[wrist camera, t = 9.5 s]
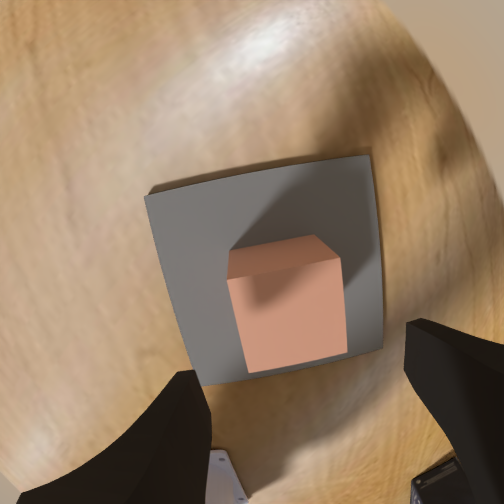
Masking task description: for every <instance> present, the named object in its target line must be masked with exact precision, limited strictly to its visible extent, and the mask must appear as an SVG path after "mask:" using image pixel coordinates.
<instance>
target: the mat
mask: <svg viewBox="0 0 504 504" xmlns="http://www.w3.org/2000/svg"><path fill="white" fill-rule="evenodd" d="M144 200H145V204H146V209H147V213H148V217H149V221H150V226H151V230H152V234H153V238H154V242H155V245H156V249H157V253H158V257H159V261H160V264H161V268H162V272H163V275H164V279H165V282H166V286H167V289H168V293H169V296H170V300H171V303H172V306H173V309H174V313H175V316H176V319H177V322H178V326H179V329H180V332H181V335H182V338H183V341H184V344H185V347H186V350H187V353H188V356H189V359H190V362H191V365H192V367H193V370H194V369H195V371H196V374H197V377H198V379H199V382H200V385H201V386H209V385H216V384H223V383H230V382H236V381H242V380H248V379H254V378H260V377H265V376H271V375H276V374H281V373H286V372H291V371H296V370H300V369H305V368H309V367H314V366H318V365H322V364H326V363H330V362H334V361H338V360H342V359H346V358H350V357H354V356H357V355H361V354H365V353H368V352H372V351H375V350H378V349H382V348H383V293H382V270H381V254H380V241H379V229H378V219H377V210H376V201H375V193H374V185H373V178H372V171H371V164H370V158H369V155H360V156H352V157H344V158H337V159H329V160H322V161H316V162H309V163H303V164H296V165H290V166H284V167H279V168H273V169H267V170H262V171H256V172H251V173H246V174H240V175H235V176H230V177H225V178H221V179H216V180H211V181H206V182H202V183H197V184H193V185H188V186H184V187H180V188H175V189H171V190H167V191H163V192H159V193H155V194H150V195H147V196H144ZM313 234H314V235H315V236H317V237H318V238H319V239H320V240H321V241H322V242H323V243H324V244H326V245H327V246H328V247H329V248H330V249H331V250H332V251H333V252H335V253H336V254H337V255H338V256H339V257H340V260H341V269H342V280H343V291H344V304H345V317H346V333H347V352H346V353H342V354H338V355H334V356H330V357H326V358H322V359H318V360H313V361H309V362H304V363H300V364H295V365H290V366H285V367H280V368H275V369H270V370H264V371H258V372H253V373H249V372H248V368H247V364H246V360H245V356H244V352H243V348H242V344H241V339H240V335H239V331H238V327H237V323H236V318H235V314H234V310H233V305H232V301H231V297H230V292H229V288H228V284H227V271H228V259H229V250H234V249H240V248H245V247H250V246H255V245H260V244H266V243H271V242H276V241H281V240H287V239H292V238H297V237H302V236H308V235H313Z"/></svg>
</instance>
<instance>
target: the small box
mask: <svg viewBox="0 0 504 504" xmlns="http://www.w3.org/2000/svg"><path fill="white" fill-rule="evenodd" d="M410 504H476V502H475V499H474V496H473V493H472V490H471V487H470V485H469V482H468V479H467V477H466V474H465V472H464V470H463V468H462V465H461V464H460V462H459V460H458V459H457V457H454V458H453V459H451V460H449V461H448V462H446V463H444V464H442V465H440V466H439V467H437V468H435V469H433V470H431V471H429V472H427V473H425V474H423V475H421V476H419V477H417V478H415V479H413V480H412V481H411V497H410Z"/></svg>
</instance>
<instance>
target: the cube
mask: <svg viewBox="0 0 504 504" xmlns="http://www.w3.org/2000/svg"><path fill="white" fill-rule="evenodd" d="M227 284H228V288H229V292H230V297H231V301H232V305H233V310H234V314H235V318H236V323H237V327H238V331H239V335H240V339H241V344H242V348H243V352H244V356H245V360H246V364H247V368H248V372H249V373H253V372H258V371H264V370H270V369H275V368H280V367H285V366H290V365H295V364H300V363H304V362H309V361H313V360H318V359H322V358H326V357H330V356H334V355H338V354H342V353H346V352H347V333H346V317H345V304H344V291H343V280H342V269H341V260H340V257H339V256H338V255H337V254H336V253H335V252H333V251H332V250H331V249H330V248H329V247H328V246H327V245H326V244H324V243H323V242H322V241H321V240H320V239H319V238H318V237H317V236H315V235H314V234H313V235H308V236H302V237H297V238H292V239H287V240H281V241H276V242H271V243H266V244H260V245H255V246H250V247H245V248H240V249H234V250H229V259H228V271H227Z"/></svg>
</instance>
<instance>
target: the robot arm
mask: <svg viewBox="0 0 504 504" xmlns="http://www.w3.org/2000/svg"><path fill="white" fill-rule="evenodd" d="M404 371H405V373H406V375H407V377H408V379H409V381H410V383H411V385H412V387H413V389H414V390H415V392H416V393H417V395H418V396H419V398H420V399H421V400H422V402H423V403H424V405H425V406H426V407H427V409H428V410H429V412H430V413H431V414H432V416H433V417H434V419H435V420H436V421H437V423H438V424H439V426H440V427H441V428H442V430H443V431H444V433H445V434H446V436H447V437H448V439H449V441H450V443H451V445H452V447H453V448H454V450H455V452H456V454H457V457H458V459H459V461H460V463H461V465H462V468H463V470H464V472H465V474H466V477H467V479H468V482H469V485H470V487H471V490H472V493H473V496H474V499H475V502H476V504H504V345H503V344H499V343H495V342H492V341H488V340H485V339H481V338H478V337H475V336H472V335H469V334H466V333H463V332H461V331H458V330H455V329H452V328H450V327H447V326H444V325H441V324H439V323H436V322H433V321H430V320H426V319H423V318H420V319H417V320H413V321H410V322H407V323H406V342H405V358H404ZM211 441H212V423H211V412H210V409H209V406H208V404H207V401H206V398H205V396H204V393H203V390H202V388H201V385H200V382H199V379H198V377H197V374H196V371H195V369H194V370H187V371H179V372H177V373H176V374H175V375H174V376H173V378H172V379H171V380H170V381H169V383H168V384H167V385H166V386H165V388H164V389H163V390H162V391H161V393H160V394H159V395H158V396H157V397H156V399H155V400H154V401H153V402H152V403H151V405H150V406H149V407H148V408H147V409H146V411H145V412H144V413H143V414H142V415H141V416H140V417H139V418H138V419H137V420H136V421H135V422H134V423H133V424H132V425H131V427H130V428H129V429H128V430H127V431H126V432H125V433H123V434H122V435H121V436H120V437H119V438H118V439H117V440H116V441H114V442H113V443H112V444H111V445H110V446H108V447H107V448H106V449H105V450H103V451H102V452H101V453H99V454H98V455H96V456H95V457H94V458H92V459H91V460H89V461H88V462H86V463H85V464H83V465H82V466H80V467H79V468H77V469H75V470H73V471H72V472H70V473H68V474H66V475H64V476H62V477H60V478H58V479H56V480H54V481H52V482H50V483H47V484H45V485H42V486H40V487H37V488H34V489H32V490H29V491H26V492H23V493H21V495H20V497H19V499H18V501H17V503H16V504H248V498H247V496H246V494H245V492H244V490H243V488H242V486H241V483H240V481H239V479H238V477H237V475H236V472H235V470H234V468H233V466H232V463H231V461H230V459H229V456H228V454H227V452H226V451H224V450H211Z"/></svg>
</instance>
